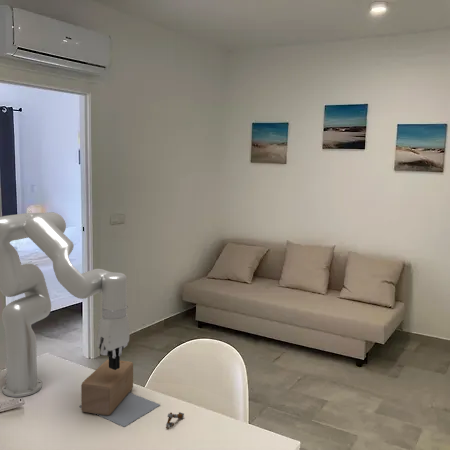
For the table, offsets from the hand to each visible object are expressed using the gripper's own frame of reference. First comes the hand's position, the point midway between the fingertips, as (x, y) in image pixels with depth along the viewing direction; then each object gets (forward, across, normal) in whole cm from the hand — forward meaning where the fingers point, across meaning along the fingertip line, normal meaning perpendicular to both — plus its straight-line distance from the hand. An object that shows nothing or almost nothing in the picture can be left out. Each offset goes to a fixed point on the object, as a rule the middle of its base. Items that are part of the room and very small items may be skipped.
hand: (114, 368), depth 159 cm
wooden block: (+9, +6, -2) cm, 11 cm away
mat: (+14, -3, 0) cm, 14 cm away
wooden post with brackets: (+14, -6, +21) cm, 26 cm away
